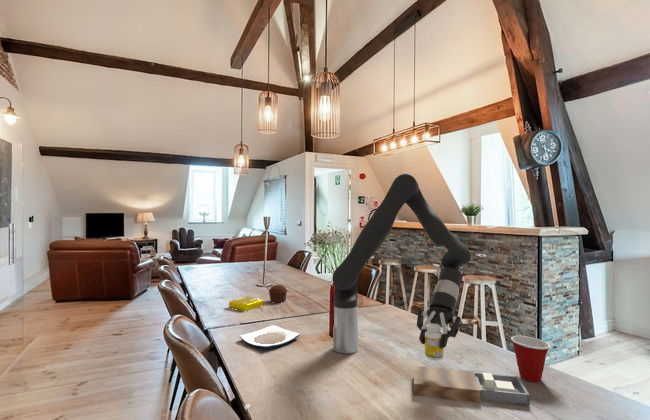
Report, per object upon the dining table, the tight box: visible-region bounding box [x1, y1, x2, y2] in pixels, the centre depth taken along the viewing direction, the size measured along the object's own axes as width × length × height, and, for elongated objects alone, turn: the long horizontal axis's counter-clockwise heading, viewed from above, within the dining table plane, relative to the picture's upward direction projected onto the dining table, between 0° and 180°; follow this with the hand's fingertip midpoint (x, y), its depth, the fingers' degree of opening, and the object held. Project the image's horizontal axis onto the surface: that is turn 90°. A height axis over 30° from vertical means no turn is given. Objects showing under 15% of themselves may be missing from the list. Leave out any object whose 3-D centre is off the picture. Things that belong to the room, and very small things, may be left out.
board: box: [413, 365, 482, 404], centre depth 103 cm, size 18×12×4 cm, turn 75°
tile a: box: [481, 372, 495, 390], centre depth 100 cm, size 4×4×2 cm
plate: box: [239, 324, 301, 350], centre depth 146 cm, size 20×20×3 cm
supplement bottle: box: [424, 324, 444, 361], centre depth 104 cm, size 5×5×10 cm
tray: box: [474, 372, 531, 407], centre depth 100 cm, size 12×11×3 cm
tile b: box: [494, 380, 515, 392], centre depth 99 cm, size 4×4×2 cm
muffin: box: [268, 284, 288, 304], centre depth 211 cm, size 12×11×10 cm
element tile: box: [228, 296, 264, 312], centre depth 200 cm, size 15×15×5 cm
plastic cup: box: [510, 335, 551, 383], centre depth 109 cm, size 11×11×12 cm
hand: (431, 345), depth 103 cm, fingers closed on supplement bottle, 5 cm apart
